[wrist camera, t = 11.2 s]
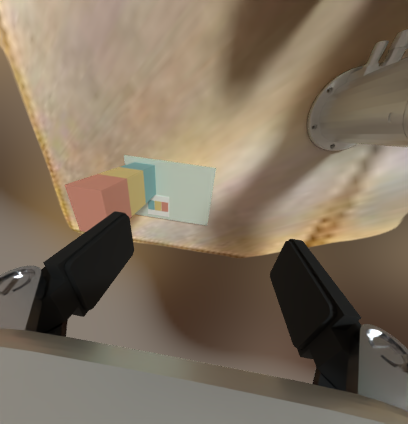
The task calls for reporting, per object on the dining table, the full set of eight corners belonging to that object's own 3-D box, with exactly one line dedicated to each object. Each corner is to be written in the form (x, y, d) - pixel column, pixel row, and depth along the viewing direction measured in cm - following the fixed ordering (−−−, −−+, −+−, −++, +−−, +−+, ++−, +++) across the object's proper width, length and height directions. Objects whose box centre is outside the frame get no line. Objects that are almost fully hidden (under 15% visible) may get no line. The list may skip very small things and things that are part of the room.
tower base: (134, 162, 35) (97, 174, 25) (154, 165, 35) (126, 178, 25) (137, 191, 39) (106, 212, 28) (156, 194, 39) (131, 216, 28)
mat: (124, 155, 35) (123, 155, 35) (215, 167, 34) (215, 168, 34) (132, 213, 43) (131, 213, 42) (207, 224, 42) (207, 225, 42)
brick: (98, 174, 25) (64, 184, 19) (126, 178, 25) (101, 190, 19) (106, 212, 28) (80, 230, 23) (131, 216, 28) (111, 236, 23)
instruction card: (146, 193, 39) (146, 194, 39) (169, 197, 39) (168, 197, 38) (148, 213, 42) (147, 213, 41) (169, 216, 41) (168, 217, 41)
